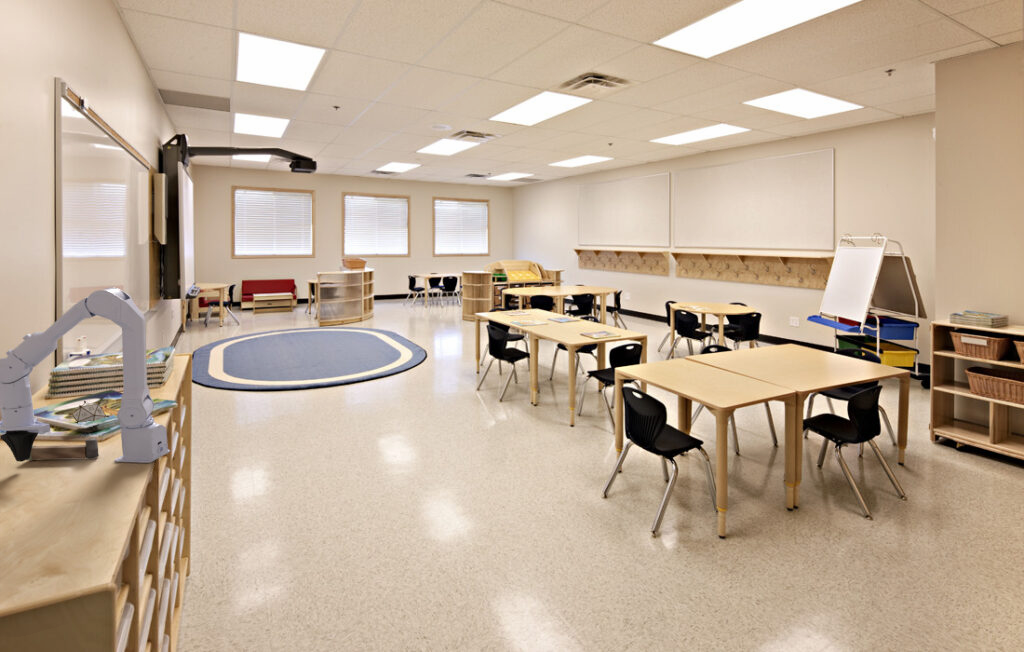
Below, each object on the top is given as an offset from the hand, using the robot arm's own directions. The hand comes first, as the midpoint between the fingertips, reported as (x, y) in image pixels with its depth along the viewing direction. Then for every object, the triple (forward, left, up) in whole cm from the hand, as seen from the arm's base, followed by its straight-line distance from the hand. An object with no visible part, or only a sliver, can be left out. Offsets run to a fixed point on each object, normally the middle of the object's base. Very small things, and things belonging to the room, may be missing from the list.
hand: (23, 459), depth 131 cm
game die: (+9, -30, -3) cm, 32 cm away
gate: (-4, -7, -2) cm, 8 cm away
